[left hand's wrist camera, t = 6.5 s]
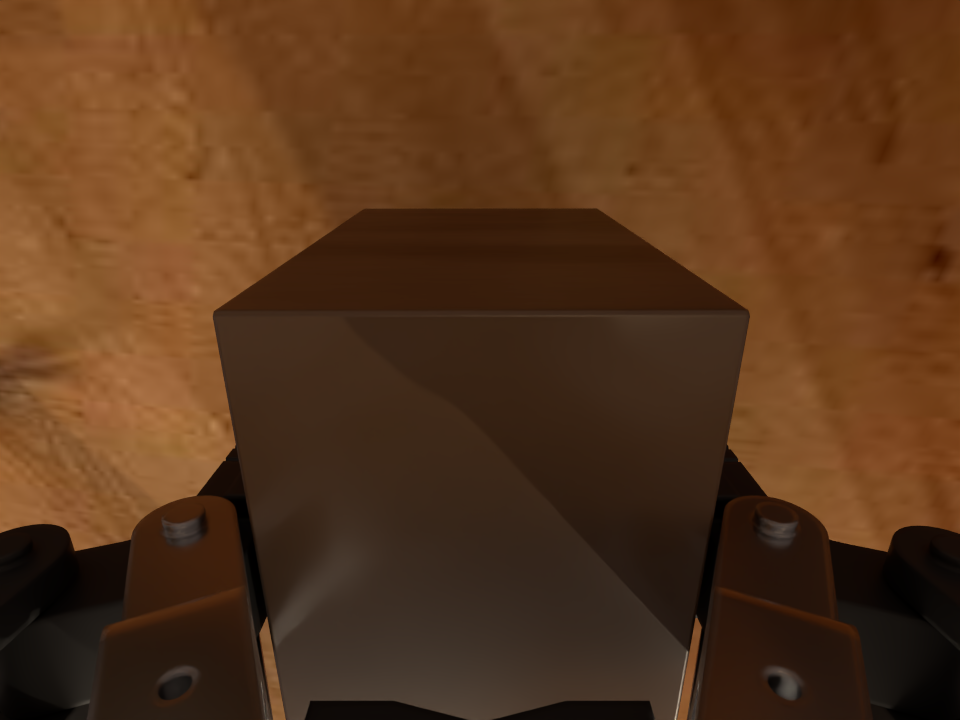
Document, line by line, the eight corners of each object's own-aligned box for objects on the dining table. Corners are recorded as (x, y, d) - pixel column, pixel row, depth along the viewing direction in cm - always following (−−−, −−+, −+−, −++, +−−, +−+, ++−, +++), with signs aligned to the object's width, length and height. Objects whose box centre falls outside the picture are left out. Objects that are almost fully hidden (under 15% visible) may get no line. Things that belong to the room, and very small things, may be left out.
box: (362, 208, 15) (208, 311, 6) (598, 208, 15) (753, 310, 6) (404, 770, 22) (361, 1140, 14) (557, 770, 22) (602, 1140, 14)
